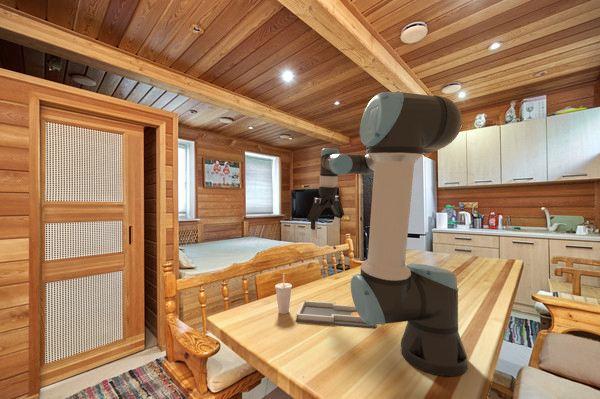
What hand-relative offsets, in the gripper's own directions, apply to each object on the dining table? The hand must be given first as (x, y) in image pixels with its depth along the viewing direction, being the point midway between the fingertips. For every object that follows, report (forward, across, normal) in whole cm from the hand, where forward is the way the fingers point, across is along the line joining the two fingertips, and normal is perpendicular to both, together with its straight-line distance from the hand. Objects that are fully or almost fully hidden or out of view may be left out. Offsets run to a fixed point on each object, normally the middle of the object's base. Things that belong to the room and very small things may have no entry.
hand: (325, 233), depth 109 cm
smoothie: (+24, +26, +6) cm, 36 cm away
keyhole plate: (+22, +14, +21) cm, 33 cm away
